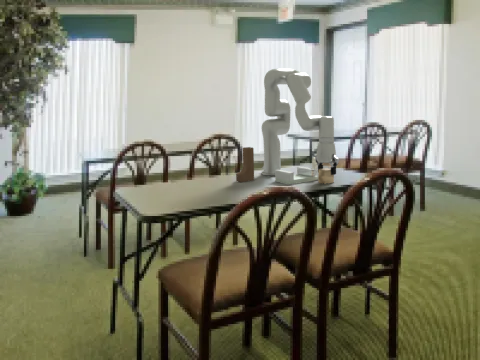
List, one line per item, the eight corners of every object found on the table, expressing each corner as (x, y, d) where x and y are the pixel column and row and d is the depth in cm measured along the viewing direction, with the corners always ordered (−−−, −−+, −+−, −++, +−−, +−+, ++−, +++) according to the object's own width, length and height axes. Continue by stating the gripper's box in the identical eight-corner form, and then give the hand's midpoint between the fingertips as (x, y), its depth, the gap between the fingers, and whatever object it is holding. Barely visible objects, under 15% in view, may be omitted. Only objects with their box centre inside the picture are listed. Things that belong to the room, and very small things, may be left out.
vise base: (275, 181, 261) (275, 170, 260) (304, 176, 271) (304, 166, 270) (289, 184, 251) (289, 173, 250) (318, 179, 261) (318, 168, 260)
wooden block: (240, 182, 260) (239, 149, 257) (236, 181, 264) (235, 148, 260) (254, 180, 264) (253, 147, 261) (250, 179, 268) (249, 146, 265)
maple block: (318, 182, 254) (318, 169, 253) (327, 181, 257) (327, 168, 256) (324, 184, 250) (325, 170, 249) (333, 182, 253) (333, 169, 252)
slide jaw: (297, 173, 268) (297, 158, 267) (309, 171, 273) (309, 156, 271) (311, 176, 258) (311, 160, 257) (323, 174, 263) (323, 158, 261)
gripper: (309, 140, 255) (310, 172, 258) (332, 142, 240) (333, 176, 243) (320, 139, 259) (321, 171, 262) (343, 140, 244) (344, 174, 247)
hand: (326, 173), depth 252 cm, fingers open, 9 cm apart
